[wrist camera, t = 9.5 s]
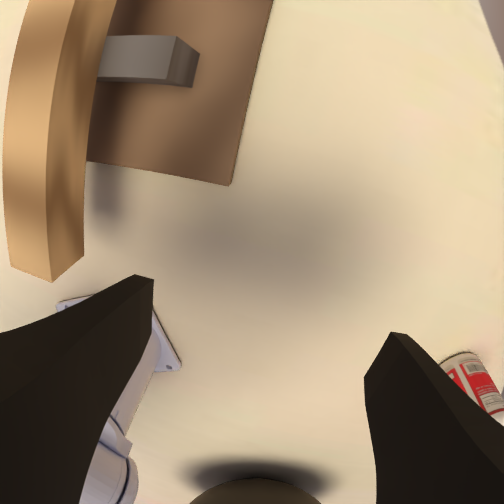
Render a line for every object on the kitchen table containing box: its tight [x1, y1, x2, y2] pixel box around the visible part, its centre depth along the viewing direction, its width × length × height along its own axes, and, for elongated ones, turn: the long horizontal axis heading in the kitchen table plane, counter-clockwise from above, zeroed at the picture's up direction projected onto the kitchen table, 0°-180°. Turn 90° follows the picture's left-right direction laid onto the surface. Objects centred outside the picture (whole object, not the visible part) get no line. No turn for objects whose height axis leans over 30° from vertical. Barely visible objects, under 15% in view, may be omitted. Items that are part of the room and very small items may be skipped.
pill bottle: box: [440, 353, 504, 426], centre depth 17 cm, size 6×6×11 cm
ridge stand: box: [86, 0, 273, 186], centre depth 13 cm, size 16×12×5 cm
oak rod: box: [3, 0, 117, 283], centre depth 9 cm, size 20×3×3 cm, turn 168°
